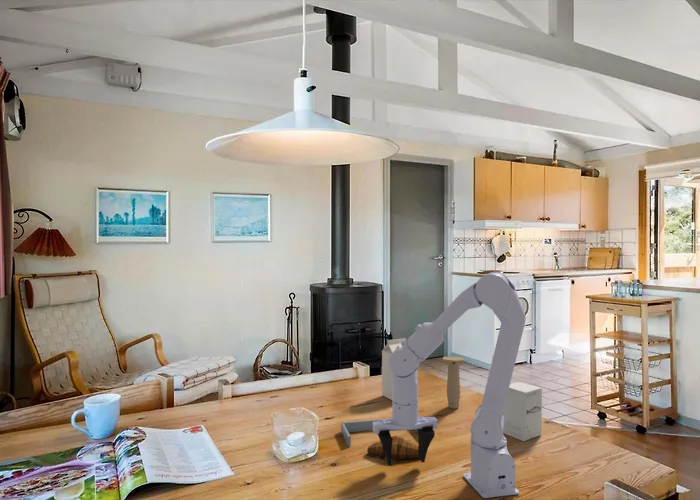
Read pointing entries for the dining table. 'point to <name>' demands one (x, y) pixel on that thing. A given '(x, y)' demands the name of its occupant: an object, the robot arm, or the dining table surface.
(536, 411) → the supplement box
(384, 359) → the milk carton
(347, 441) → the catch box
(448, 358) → the handle
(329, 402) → the dining table surface
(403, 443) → the croissant
